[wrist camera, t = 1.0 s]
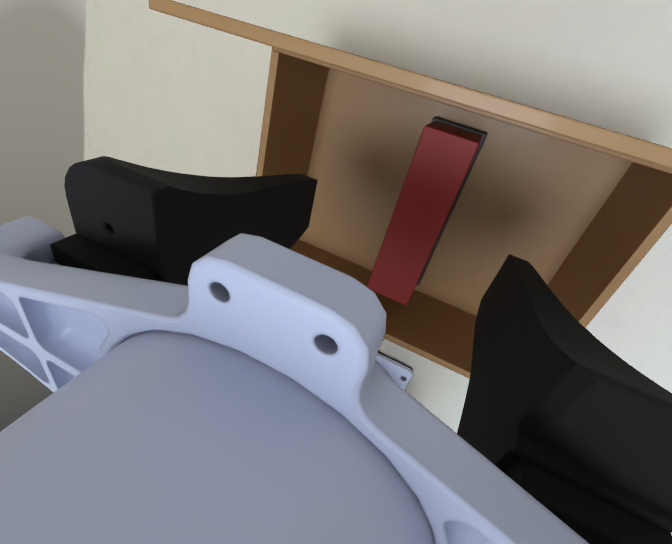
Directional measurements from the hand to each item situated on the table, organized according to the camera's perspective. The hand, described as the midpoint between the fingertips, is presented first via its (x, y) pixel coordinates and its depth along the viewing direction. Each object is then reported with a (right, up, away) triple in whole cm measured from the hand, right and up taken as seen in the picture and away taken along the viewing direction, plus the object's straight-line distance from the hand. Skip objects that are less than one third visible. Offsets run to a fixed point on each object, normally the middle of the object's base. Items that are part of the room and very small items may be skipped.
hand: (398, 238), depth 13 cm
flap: (+1, +4, -2) cm, 5 cm away
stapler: (+4, +3, +10) cm, 11 cm away
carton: (+4, +3, +10) cm, 11 cm away
